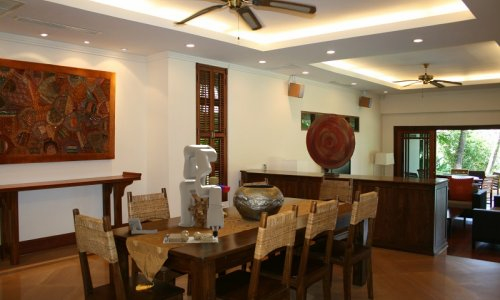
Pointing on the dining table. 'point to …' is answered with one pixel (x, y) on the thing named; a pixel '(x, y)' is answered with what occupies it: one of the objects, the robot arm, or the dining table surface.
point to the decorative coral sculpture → (205, 208)
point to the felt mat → (191, 240)
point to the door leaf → (203, 237)
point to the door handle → (138, 227)
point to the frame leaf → (179, 237)
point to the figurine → (224, 188)
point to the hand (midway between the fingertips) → (215, 237)
